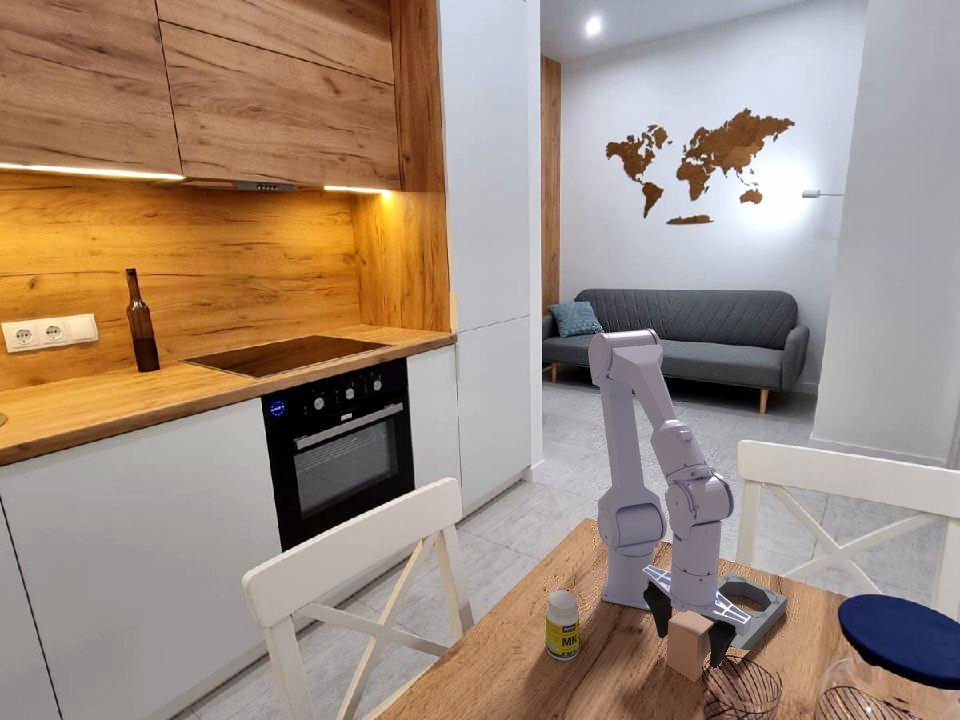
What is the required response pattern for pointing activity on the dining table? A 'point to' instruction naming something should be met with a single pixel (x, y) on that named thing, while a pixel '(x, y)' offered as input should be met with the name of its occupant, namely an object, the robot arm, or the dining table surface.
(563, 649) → the supplement bottle
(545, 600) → the dining table surface
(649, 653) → the dining table surface
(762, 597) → the socket board
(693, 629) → the peg
